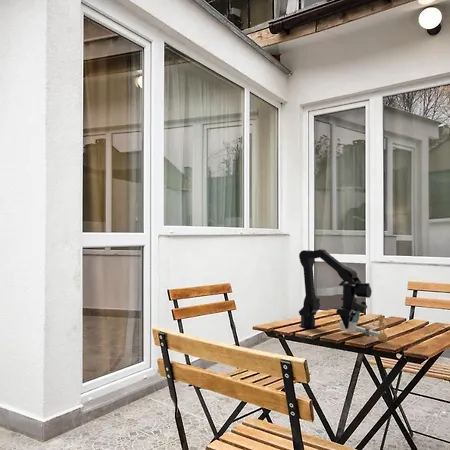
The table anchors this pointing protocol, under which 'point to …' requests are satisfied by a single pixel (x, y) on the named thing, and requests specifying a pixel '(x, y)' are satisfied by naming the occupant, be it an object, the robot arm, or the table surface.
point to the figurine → (382, 336)
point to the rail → (367, 331)
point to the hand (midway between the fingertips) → (348, 328)
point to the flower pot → (356, 317)
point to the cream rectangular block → (351, 326)
